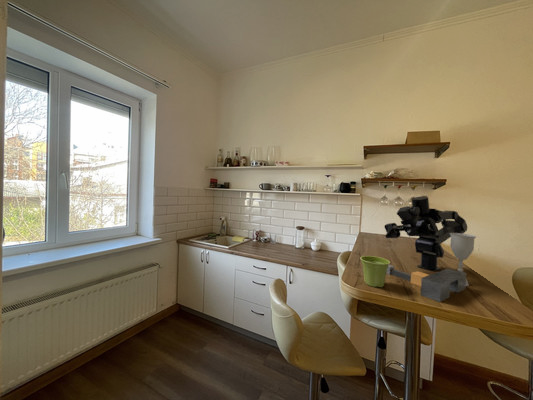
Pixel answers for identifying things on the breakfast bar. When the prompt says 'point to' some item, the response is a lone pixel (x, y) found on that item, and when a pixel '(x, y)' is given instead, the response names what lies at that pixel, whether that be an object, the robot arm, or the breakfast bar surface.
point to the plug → (406, 275)
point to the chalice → (462, 248)
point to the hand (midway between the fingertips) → (396, 235)
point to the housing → (442, 284)
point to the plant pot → (374, 270)
